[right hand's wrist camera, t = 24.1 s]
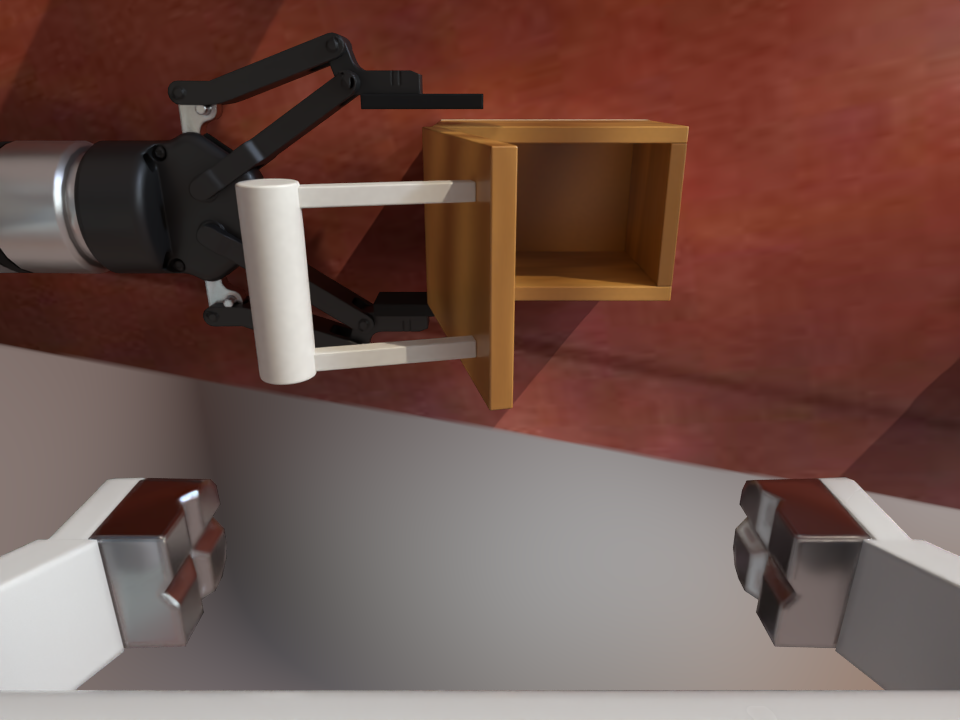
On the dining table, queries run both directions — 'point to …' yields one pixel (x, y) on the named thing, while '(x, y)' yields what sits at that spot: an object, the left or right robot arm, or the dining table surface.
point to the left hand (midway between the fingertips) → (483, 208)
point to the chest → (593, 206)
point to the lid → (449, 265)
